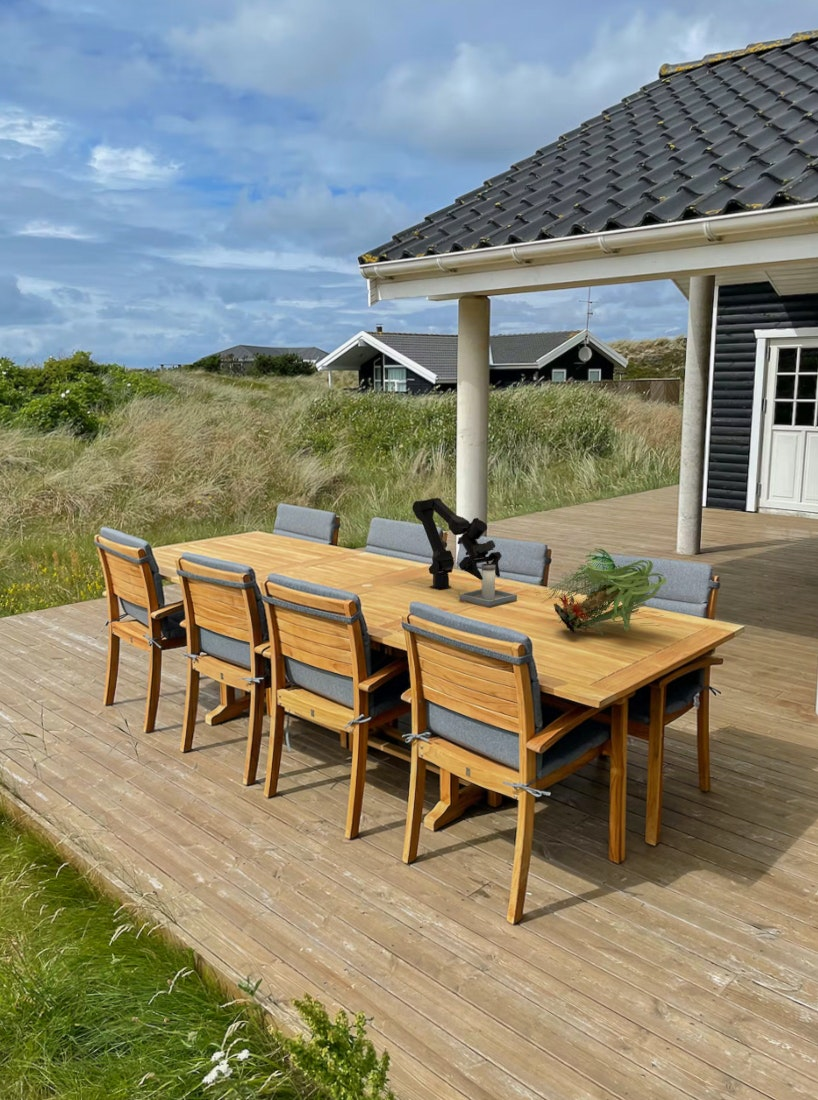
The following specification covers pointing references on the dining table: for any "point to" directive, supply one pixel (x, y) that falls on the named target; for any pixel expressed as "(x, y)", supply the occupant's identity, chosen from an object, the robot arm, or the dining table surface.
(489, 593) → the shaker
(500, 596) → the tray
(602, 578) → the plant
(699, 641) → the dining table surface
